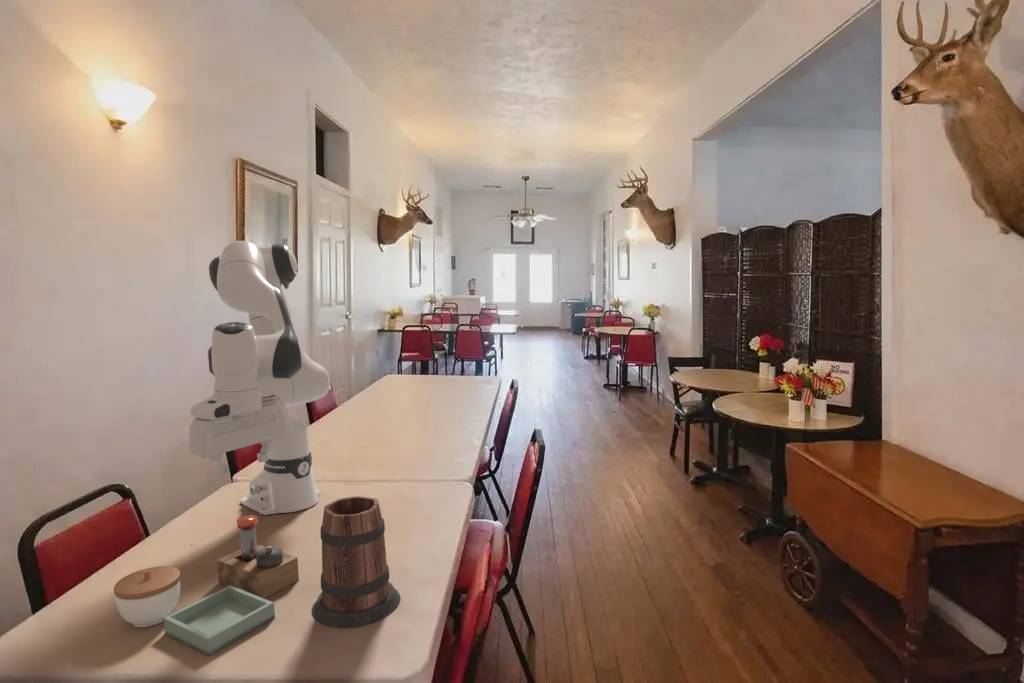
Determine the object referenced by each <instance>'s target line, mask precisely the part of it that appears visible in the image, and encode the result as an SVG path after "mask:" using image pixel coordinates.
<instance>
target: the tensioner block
mask: <svg viewBox="0 0 1024 683" xmlns="http://www.w3.org/2000/svg"><path fill="white" fill-rule="evenodd" d="M216 562H217V563H216V564H217V573H218V574H217V576H218V578H217V579H218V583H219V584H221V585H224V586H226V587H227V586H230V585H231V586H233V587H236V588H238V589H241V590H244V591H246V592H249V593H251V594H254V595H256V596H259V597H261V598H264V599H266V598H268V597H270V596H272V595H274V594H276V593H278V592H280V591H281V590H283V589H285V588H287V587H288V586H290V585H293V584H294V583H296V582H298V581H299V580H300V578H299V563H298V562H299V559H298V556H294V555H292V554H288V553H285V552H283V548H281V547H280V546H274V545H267V546H264V545H261V544H258V543H257V553H256V559H254V560H252V561H250V562H248V563H246V562H244V561H242V550H241V549H238V550H237V551H235V552H232V553H230V554H228V555H225V556H223V557H221V558H219V559H217V560H216Z"/></svg>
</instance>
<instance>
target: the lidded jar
mask: <svg viewBox="0 0 1024 683" xmlns="http://www.w3.org/2000/svg"><path fill="white" fill-rule="evenodd" d="M113 593H114V598H115V604H116V608H117V611H118V613H119V615H120V616H121V618H122V620H124V621H126V623H128V624H132V626H133V627H135V628H148V626H149V627H152V625H153V626H155V625H158V624H160V623H162V622H164V617H166V616H169V615H171V614H172V612H173V610H174V609H175V608H176V606H177V605H178V601H179V600H180V595H181V571H180V570H179V569H178V568H177V567H176V566H175V567H174V566H170V565H169V566H167V565H160V566H151V567H147V568H144V569H140V570H136V571H134V572H132V573H129V574H127V575H125V576H124V577H122V578H121V579H119V580H118V581H117V582H116V583H115V584H114V587H113Z"/></svg>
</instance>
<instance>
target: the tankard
mask: <svg viewBox="0 0 1024 683" xmlns="http://www.w3.org/2000/svg"><path fill="white" fill-rule="evenodd" d="M385 531H386V526H385V519H384V518H383V516H382V512H381V508H380V503H379V500H378V499H377V498H375V497H366V496H350V497H349V496H348V497H343V498H339V499H336V500H334V501H333V502H330V503H328V504H326V505H324V507H323V517H322V525H321V526H320V539H321V567H322V568H321V570H322V571H321V575H320V588H321V593H320V594H319V595H318V598H317V599H316V601H315V602H314V603H313V605H312V608H311V615H312V618H313V620H315V622H316V623H318V624H320V625H322V626H324V627H327V628H332V629H340V630H341V629H344V630H345V629H356V628H361V627H366V625H367V626H369V625H373V624H375V623H377V622H381V621H382V620H385V619H386V618H388V617H389V616H391V614H392V613H394V612H395V611H396V610H397V609H398V608H399V606H400V604H401V598H402V597H401V594H400V592H399V591H398V590H397V589H396V588H395V587H394V585H393V584H392V583H391V582H389V580H390V568H389V565H388V562H387V551H386V550H387V548H386V540H385V538H386V537H385ZM398 592H399V593H398ZM399 603H400V604H399Z"/></svg>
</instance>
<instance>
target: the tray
mask: <svg viewBox="0 0 1024 683" xmlns="http://www.w3.org/2000/svg"><path fill="white" fill-rule="evenodd" d="M275 612H276V611H275V602H274V601H271V600H269V599H266V598H265V599H264V598H261V597H259V596H256V595H254V594H251V593H249V592H246V591H244V590H241V589H238V588H236V587H233V586H231V585H230V586H226V587H223V588H221V589H220V590H217V591H216V592H214V593H212V594H209V595H207V596H206V597H203V598H201V599H199V600H198V601H195V602H194V603H191V604H189V605H187V606H185V607H183V608H180V609H179V610H177V611H175V612H173V613H170V614H169V616H166V617H164V621H163V627H164V634H165V635H167V636H169V637H171V638H173V639H175V640H176V641H179V642H180V643H183V644H185V645H186V646H187V647H188V646H189V647H190V648H192V649H194V650H197V651H198V652H200V653H202V654H204V655H207V656H208V657H210V656H212V655H213V654H214V653H217V652H219V651H220V650H222V649H224V648H226V647H227V646H229V645H230V644H232V643H234V642H235V641H237V640H239V639H240V638H243V637H244V636H247V634H249V633H251V632H253V631H254V630H257V629H258V628H259V627H261V626H263V625H265V624H267V623H268V622H270V621H271V620H273V619H275V618H276V613H275Z"/></svg>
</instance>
